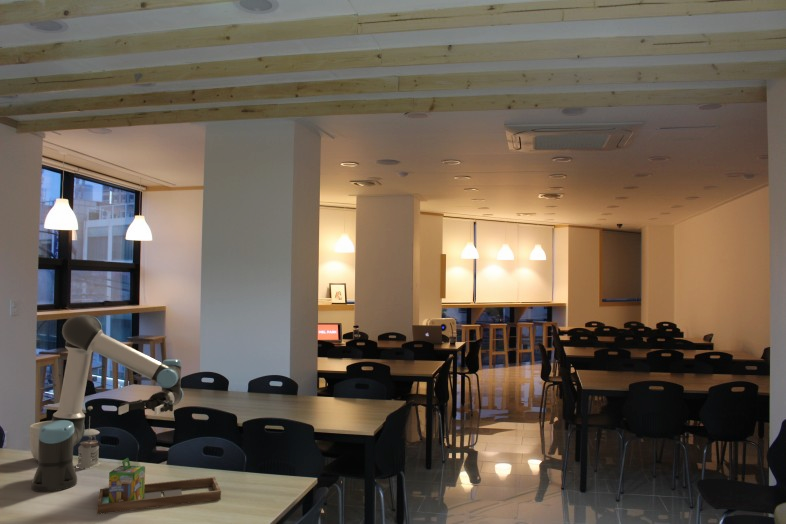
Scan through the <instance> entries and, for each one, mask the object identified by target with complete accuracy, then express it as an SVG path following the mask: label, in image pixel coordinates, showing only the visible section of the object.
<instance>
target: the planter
mask: <svg viewBox="0 0 786 524" xmlns="http://www.w3.org/2000/svg"><path fill="white" fill-rule="evenodd" d="M50 422H52V420H46V421H40V422H35V423H32V424H30V425H29V440H30V446H29V447H30V453H31V455H32V457H33V458H34V459H35V460H36V461H38V449H39V431H40V428H41V426H42V425H44V424H46V423H50Z"/></svg>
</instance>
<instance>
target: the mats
mask: <svg viewBox="0 0 786 524" xmlns="http://www.w3.org/2000/svg"><path fill="white" fill-rule="evenodd" d="M182 494H183V492H182V489H173V490H164V491H163V496H162V491H155V492H146V493H144V499H147V498H156V497H165V496H173V495H182Z"/></svg>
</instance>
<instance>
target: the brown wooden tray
mask: <svg viewBox="0 0 786 524" xmlns="http://www.w3.org/2000/svg"><path fill="white" fill-rule="evenodd" d="M212 486H213V487H212ZM203 487H212V489H213V490H209V491H201V492H192V493H182V495H173V496H165V497H164V496H162V497H156V498H147V499H139V500H130V501H121V502H112V503H104V504H102V498H103V497H109V487H105V488H100V489H99V493H98V498H97V507H96V515H104V514H110V513H119V512H128V511H129V512H130V511H136V510H137V511H138V510H144V509H151V508H159V507H170V506H177V505H178V506H180V505H185V504H193V503H194V504H195V503H201V502H211V501H219V499H220V500H221V498H222V496H221V495H222V491H221V489H220V488H221V487H220V486H219V483H218V481H217V478H216V477H215V476H210V477H209V476H208V477H200V478H191V479H190V478H189V479H181V480H172V481H162V482H153V483H145V490H144V493H146V492H155V491H161V492H164V490H173V489H181V490H185V489H195V488H203ZM101 513H102V514H101ZM103 513H104V514H103Z"/></svg>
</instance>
